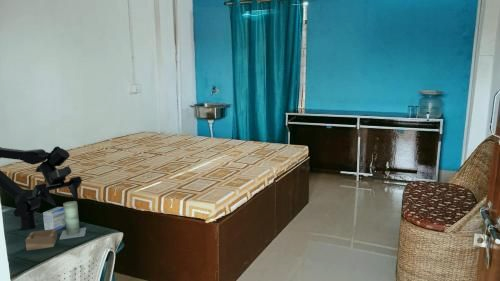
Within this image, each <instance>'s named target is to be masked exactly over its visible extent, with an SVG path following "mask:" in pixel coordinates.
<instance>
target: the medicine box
mask: <svg viewBox="0 0 500 281" xmlns="http://www.w3.org/2000/svg"><path fill="white" fill-rule="evenodd" d="M42 216H43V225H44V230H50V229H57V232H58V231H59V230H61V229H64V228H66V225H65V215H64V206H54V207H53V208H51V209H49V210H46V211H44V212H42Z"/></svg>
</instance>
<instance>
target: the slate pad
mask: <svg viewBox="0 0 500 281" xmlns="http://www.w3.org/2000/svg"><path fill="white" fill-rule="evenodd" d="M86 231H87V227H80V232H79V233H77V234H73V235H67V234H66V229H65V230H62V232H61V234H60V235H59V236H60V237H59V240H66V239H73V238H74V239H75V238H80V237H85V235H86V233H87V232H86Z"/></svg>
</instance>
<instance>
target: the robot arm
mask: <svg viewBox="0 0 500 281" xmlns="http://www.w3.org/2000/svg"><path fill="white" fill-rule="evenodd" d="M70 156H71V154H70V153H69V152H68V151H67V150H65V149H64V148H61V147H60V146H59V145H58V146H54V148H53V149H52V150H51V151H50V152H47V151H46V150H45V149H42V148H40V149H39V148H38V149H27V150H25V149H24V150H23V149H17V148H15V149H14V148H6V147H1V146H0V159H9V160H10V159H11V160H17V161H23V163H26V164H30V165H32V166H33V165H37V164H39V165H37V167H36V168H35V172H36V173H41V174H42V176H43V177H44V180H43V181H44V183H43V182H42V183H38V184H35V185H34V187H33V189H30V190H24V189H23V188H22V187H21V186H20V185H19V184H17V183H16V182H15V181H14V180H13V179H12V178H10V177H9V176H8V175H7V174H5V173H4V172H3V171H2V170H1V169H0V188H1V189H2V190H4V191H5V192H6V193H7V194H8V195H10V197H11V198H13V199H14V203H15V205H16V208H15V209H14V211H13V212H12V213H13V215H14V217H19V225H20V226H19V227H18V229H17V230H18V231H22V230H29V229H30V230H31V229H36V228H37V226H38V225H39V222H36V214H35V213H36V212H37V211H39V208H40V207H41V204H42V201H45V202H47V203H49V204H50V205H52V206H53V207H57V203H56V200H55V199H54V198H53V196H52V194H51V192H50V191H53V190H58V189H63V188H68V189H69V192H70V194H71V195H72V196H73V198H74V199H75V201H79V193H78V189H79V188H80V186H81V184H82V182H83V179H82V177H81V176H78V175H77V176H74V177H73V176H72V177H70V178H69V180H68V181H66V180H67V178H66V177H68V176H69V175H71V174H72V168H71V167H70V166H65V167H63V168H57V167H60V166H62V165H64V163H65V162H66V161H67V160H68V159H69V158H70ZM40 163H41V164H40ZM65 181H66V182H65Z"/></svg>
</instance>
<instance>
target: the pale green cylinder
mask: <svg viewBox="0 0 500 281" xmlns="http://www.w3.org/2000/svg"><path fill="white" fill-rule="evenodd" d="M77 201H78V200H73V201H71V200H70V201H66V202H63V203H62V205H63V206H62V207H64V215H65V225H66V226H65V230H66V234H67V235H73V234H77V233H79V232H80V228H81V227H80V219H79V210H78V209H79V206H78V202H77Z"/></svg>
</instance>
